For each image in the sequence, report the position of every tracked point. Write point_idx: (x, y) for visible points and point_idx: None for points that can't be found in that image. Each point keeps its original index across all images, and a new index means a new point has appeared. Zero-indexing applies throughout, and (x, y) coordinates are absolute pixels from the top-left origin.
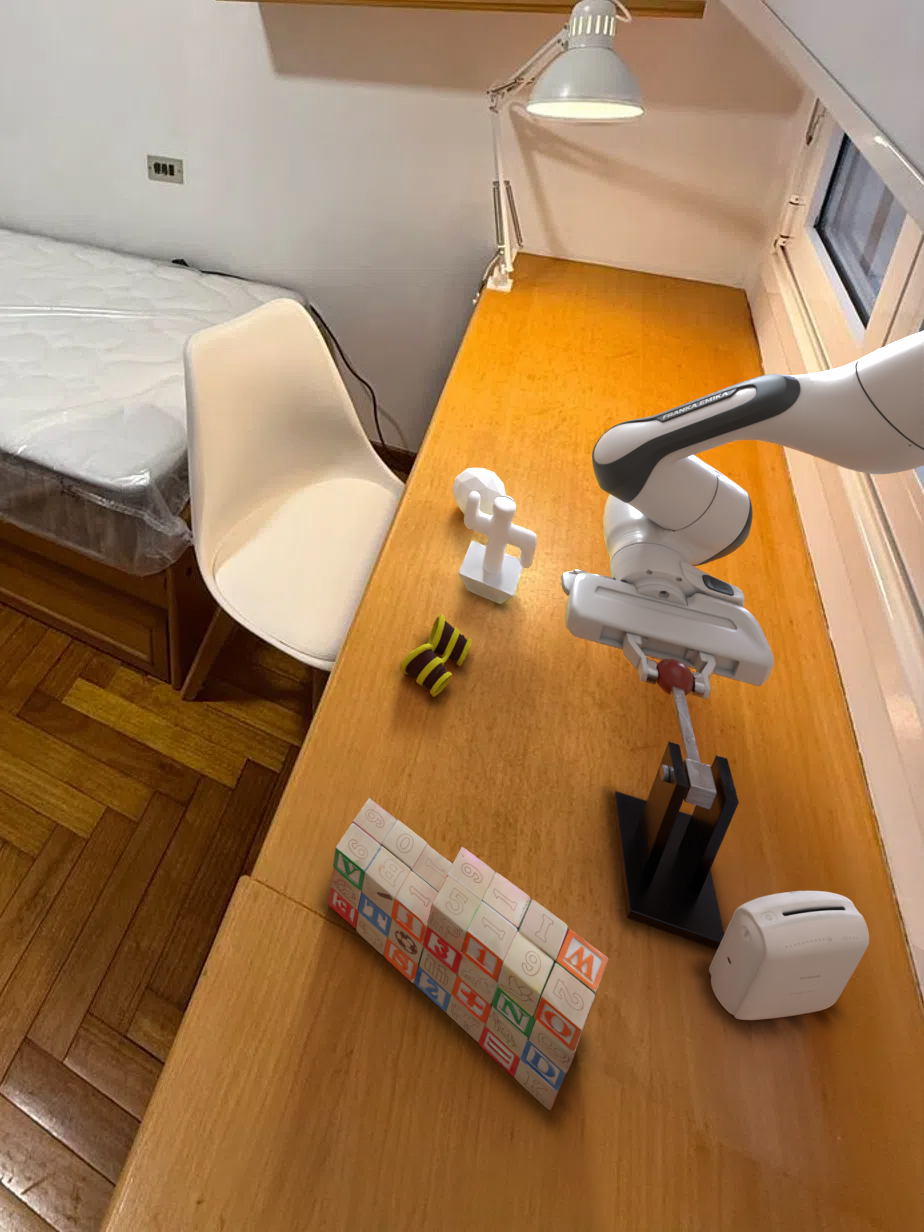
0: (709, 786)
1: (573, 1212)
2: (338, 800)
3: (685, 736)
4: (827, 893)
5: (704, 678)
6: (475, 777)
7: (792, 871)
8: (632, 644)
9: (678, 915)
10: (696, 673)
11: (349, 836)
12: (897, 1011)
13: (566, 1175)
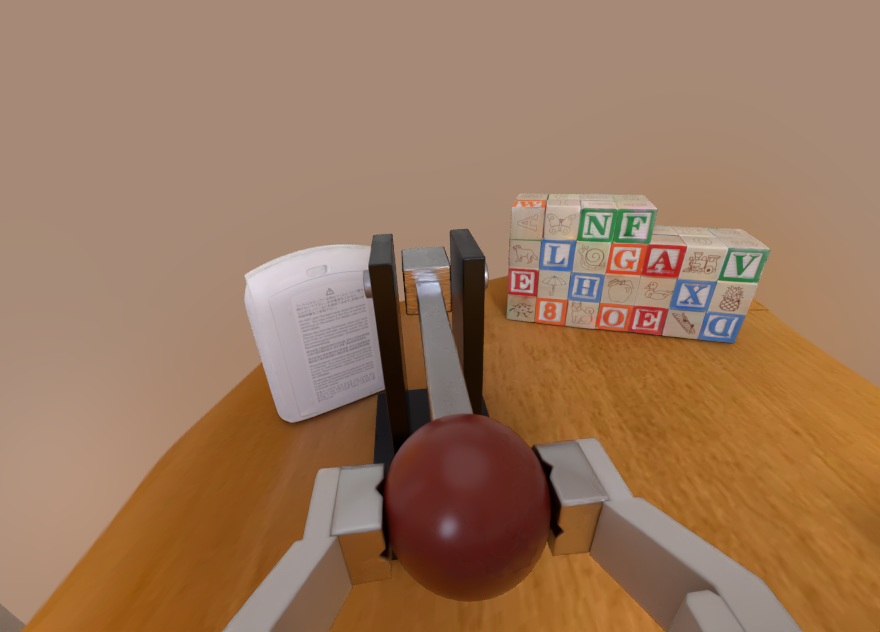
0: (412, 251)
1: (492, 279)
2: (812, 374)
3: (442, 312)
4: (277, 273)
5: (330, 505)
6: (728, 471)
7: (221, 550)
8: (722, 565)
9: (426, 398)
10: (362, 524)
11: (743, 234)
12: (201, 425)
13: (498, 285)
